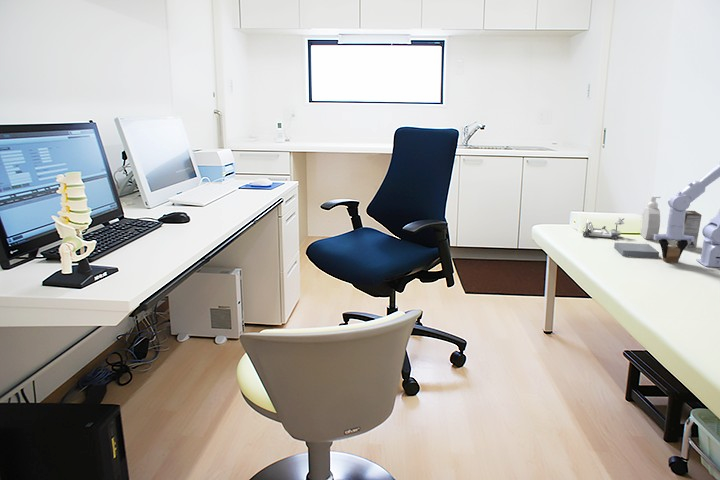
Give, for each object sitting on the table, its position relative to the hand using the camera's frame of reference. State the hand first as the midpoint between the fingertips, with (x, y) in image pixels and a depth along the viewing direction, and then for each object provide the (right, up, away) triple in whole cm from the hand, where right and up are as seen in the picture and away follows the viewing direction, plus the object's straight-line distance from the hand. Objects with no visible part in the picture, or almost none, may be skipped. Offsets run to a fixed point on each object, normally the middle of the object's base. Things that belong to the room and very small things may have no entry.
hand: (670, 257), depth 229 cm
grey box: (-8, +1, +14) cm, 16 cm away
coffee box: (+20, +4, +24) cm, 31 cm away
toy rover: (-9, +9, +45) cm, 46 cm away
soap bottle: (+13, +8, +43) cm, 45 cm away
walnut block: (0, -2, 0) cm, 2 cm away
